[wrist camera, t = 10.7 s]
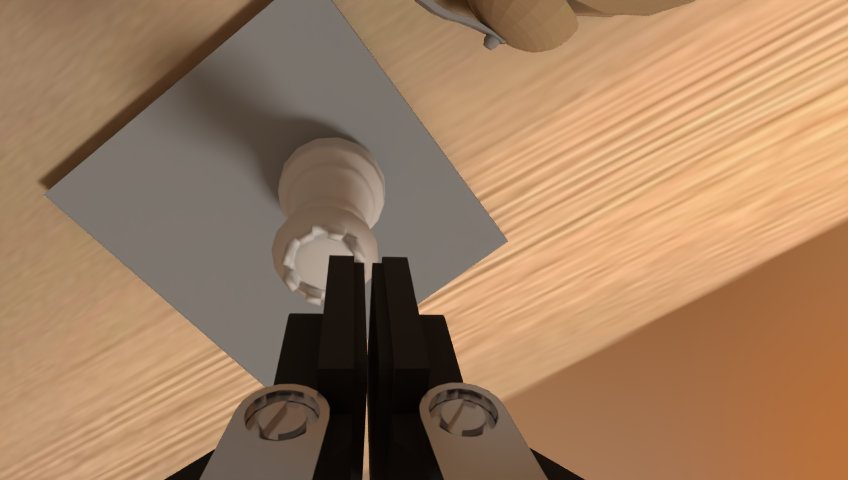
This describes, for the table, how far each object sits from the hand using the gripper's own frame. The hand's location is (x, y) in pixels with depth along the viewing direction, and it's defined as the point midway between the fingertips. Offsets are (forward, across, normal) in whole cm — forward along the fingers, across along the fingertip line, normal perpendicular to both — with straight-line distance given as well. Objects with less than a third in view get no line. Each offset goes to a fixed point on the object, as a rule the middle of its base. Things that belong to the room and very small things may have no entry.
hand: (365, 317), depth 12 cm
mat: (+13, +3, +3) cm, 13 cm away
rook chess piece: (+12, +1, +1) cm, 12 cm away
